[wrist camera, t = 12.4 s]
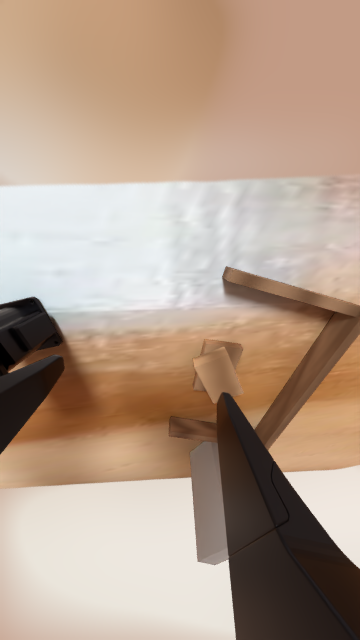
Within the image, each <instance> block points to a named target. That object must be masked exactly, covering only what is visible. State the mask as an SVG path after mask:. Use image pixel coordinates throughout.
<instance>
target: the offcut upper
mask: <svg viewBox="0 0 360 640" xmlns="http://www.w3.org/2000/svg"><path fill="white" fill-rule="evenodd" d="M193 363H194V368H195V370H196V372H197V374H198V376H199V377H200V379H201V381H202V383H203V385H204V387H205V389H206V391H207V393H208V394H209V396H210V398H211V400H212V402H213V404H214V403H217V401H218V399H219V397H220V395H221V393H222V392H227V393H230V394H231V396H232V397H235V396H238V395H240V394H243V393H244V392H243V390H242V387H241V385H240V382H239V380H238V377H237V375H236V372H235V370H234V367H233V365H232V362H231V360H230V358H229V355H228V353H227V351H226V349H225V347H221V348H219V349H216V350H214V351H211V352H208V353H206V354H203V355H201V356H198V357H196V358H193Z"/></svg>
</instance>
